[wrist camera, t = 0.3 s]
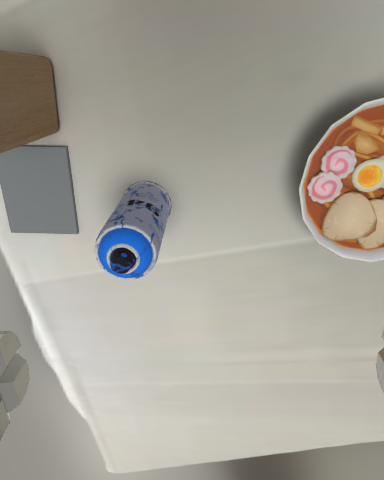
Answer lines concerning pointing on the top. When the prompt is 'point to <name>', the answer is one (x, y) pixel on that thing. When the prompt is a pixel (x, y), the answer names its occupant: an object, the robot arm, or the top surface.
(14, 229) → the mat
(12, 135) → the wooden block
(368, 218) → the ramen bowl
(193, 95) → the top surface
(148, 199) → the aerosol can
